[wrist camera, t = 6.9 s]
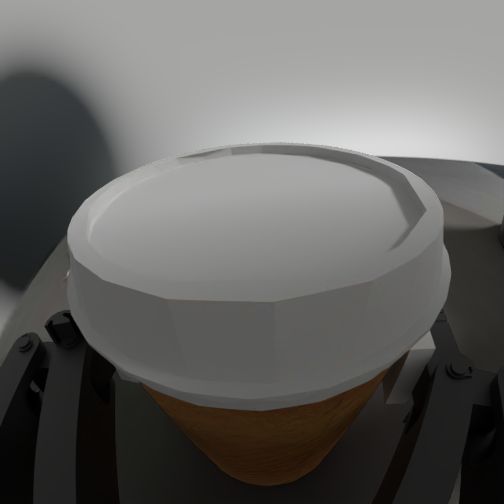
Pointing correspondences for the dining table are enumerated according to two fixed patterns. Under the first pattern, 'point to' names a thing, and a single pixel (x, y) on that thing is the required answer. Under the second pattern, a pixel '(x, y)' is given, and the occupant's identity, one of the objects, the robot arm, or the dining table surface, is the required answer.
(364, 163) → the disposable coffee cup
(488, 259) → the dining table surface
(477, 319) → the dining table surface
